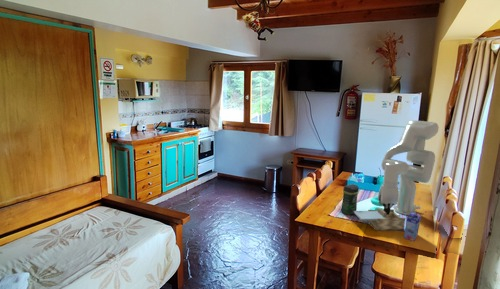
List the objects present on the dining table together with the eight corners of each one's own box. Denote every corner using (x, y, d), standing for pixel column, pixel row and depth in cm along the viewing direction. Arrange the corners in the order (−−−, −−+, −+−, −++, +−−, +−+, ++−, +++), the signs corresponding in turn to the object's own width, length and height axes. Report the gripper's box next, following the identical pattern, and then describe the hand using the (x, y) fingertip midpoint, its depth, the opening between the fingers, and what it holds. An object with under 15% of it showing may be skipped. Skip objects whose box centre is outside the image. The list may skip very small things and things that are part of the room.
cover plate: (379, 212, 180) (380, 206, 179) (388, 220, 170) (389, 214, 169) (353, 212, 179) (354, 207, 178) (361, 220, 169) (361, 214, 168)
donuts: (390, 202, 185) (374, 202, 185) (389, 217, 187) (373, 217, 187) (383, 196, 195) (368, 196, 195) (382, 210, 197) (366, 210, 197)
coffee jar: (349, 216, 187) (352, 188, 184) (339, 211, 194) (341, 184, 190) (358, 212, 193) (361, 185, 189) (348, 208, 199) (350, 182, 195)
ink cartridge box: (414, 241, 159) (418, 216, 156) (403, 238, 162) (406, 213, 159) (418, 234, 166) (422, 210, 163) (407, 231, 169) (411, 207, 166)
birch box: (392, 220, 183) (393, 209, 181) (403, 230, 171) (405, 218, 169) (367, 221, 181) (368, 209, 180) (376, 230, 169) (378, 218, 168)
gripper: (398, 181, 175) (395, 210, 179) (374, 182, 174) (371, 211, 177) (406, 186, 168) (402, 216, 171) (380, 186, 166) (377, 216, 170)
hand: (386, 213), depth 174 cm, fingers closed
